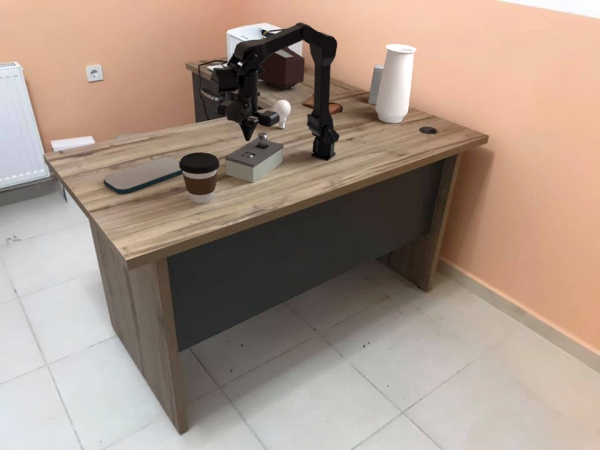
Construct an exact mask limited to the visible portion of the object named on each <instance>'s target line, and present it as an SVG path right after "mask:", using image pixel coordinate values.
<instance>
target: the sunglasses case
mask: <svg viewBox="0 0 600 450" xmlns="http://www.w3.org/2000/svg"><path fill="white" fill-rule="evenodd" d="M301 104H302V106H304V107H307V108H310V109H312V110H313V109H314V93H312V95H311V96H309V97H308V98H307V99H306V100H305V101H304V102H302V103H301ZM329 111H330V113H331V116H333V115H334V116H335V115H337V114H341V113H343V111H344V109H343V105H341V104H340V103H339V102H334V101H332V100H330V99H329Z"/></svg>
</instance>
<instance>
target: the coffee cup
mask: <svg viewBox="0 0 600 450" xmlns="http://www.w3.org/2000/svg"><path fill="white" fill-rule="evenodd" d="M179 160H180V161H179V168H180V169H181V170H182V171H183V174H182V176H183V181H184V184H185V188H186V191H187V192H188V198H189V199H190V201H191V202H192V203H195V204H197V205H198V204H199V205H200V204H201V205H202V204H204V205H205V204H206V203H207V204H209V203H210V202H212V200H213V198H214V197H215V196H214V195H215V190H216V186H217V185H216V184H217V177H218V169H219V168H220V160H219V159H218V157H217V156H216V155H214V154H212V153H208V152H202V151H201V152H191V153H187V154H186V155H183V156H182V157H181V158H180V159H179Z"/></svg>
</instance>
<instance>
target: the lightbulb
mask: <svg viewBox="0 0 600 450" xmlns="http://www.w3.org/2000/svg"><path fill="white" fill-rule="evenodd" d="M291 111H292V107H291V103H290V102H289V101H288V100H286V99H279V100H277V101H276V102H275V103H274V104H273V112H277V113H278V114H279V116H280V121H279V122H278V123H277V127H278V128H279V129H282V130H283V129H285V128H286V121H287V117H288V116H289V115H290V113H291Z"/></svg>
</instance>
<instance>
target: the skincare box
mask: <svg viewBox="0 0 600 450" xmlns="http://www.w3.org/2000/svg"><path fill="white" fill-rule="evenodd" d="M383 68H384V64H383V65H382V64H375V65H374V67H373V72H372V78H371V84H370V90H369V94H368V100H367V101H368V102H367V103H368V104H369V105H375V106H376V102H377V97H378V92H379V87H380V82H381V77H382V73H383Z"/></svg>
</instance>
